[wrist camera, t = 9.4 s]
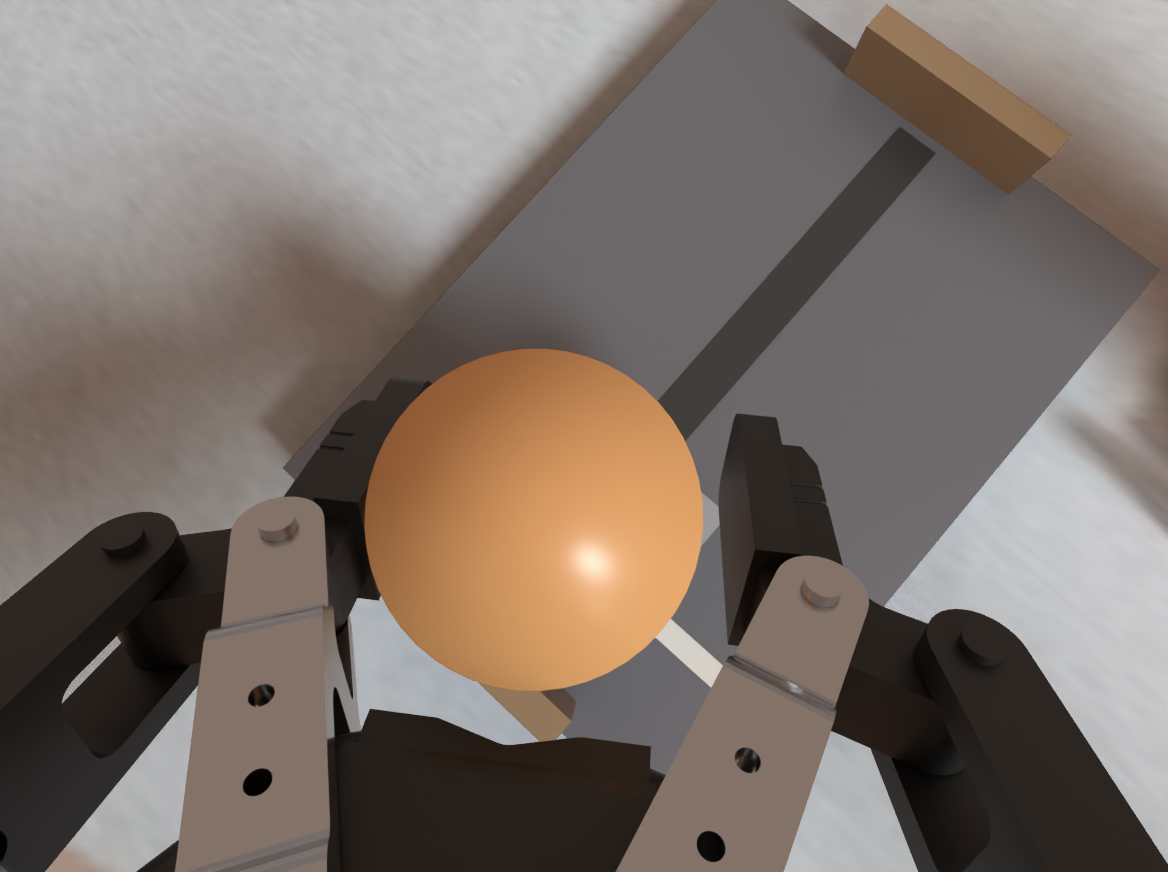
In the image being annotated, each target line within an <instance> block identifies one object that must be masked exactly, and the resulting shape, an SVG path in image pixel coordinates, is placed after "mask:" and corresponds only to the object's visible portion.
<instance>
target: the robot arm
mask: <svg viewBox="0 0 1168 872" xmlns="http://www.w3.org/2000/svg"><path fill="white" fill-rule="evenodd" d="M431 385H432V383H431V382H430V381H424V380H414V379H404V378H395V377H392V378H390V379H389V380H388V382H387V383H386V385H385V386H384V388H383V389H382V391H381V392H380V394H379V396H378V397H377V399H376V400H375V401H371V400H361V401H360V402H358V403H357V404H355V405H354V406H352V407H351V408H349V409H348V410H346V411H345V412H343V413H342V414H341V415H340V417H339V418H338V420H337V421H336V422H335V424H334V425H333V427H332V428H331V430H330V433H329V435H328V434H327V435H326V437H325V438H324V440H323V441H322V443H321V444H320V448H319V449H317V450H316V451H315V453H314V454H313V456H312V457H311V458H310V460H309V461H308V463H307V464H306V466H305V467H304V468H303V470H302V471H301V473H300V474H299V476H298V477H297V479H296V480H295V481H294V483H293V484H292V486H291V487H290V489H289V490H288V492H287V493H286V494H285V496H284V497H279V498H275V499H271V500H267V501H264V502H262V503H260V504H257V505H255V506H254V507H252V508H250V509H249V510H247V511H246V512H245V513H243V514H242V515H241V516H240V517H239V518H238V520H237V521H236V522H235V524H234V526H233V528H232V529H226V530H219V531H211V532H203V533H195V534H187V535H179V532H178V530H177V528H176V526H175V524H174V522H173V521H172V520H171V519H170V518H169V517H167V516H165V515H162V514H159V513H154V512H139V513H132V514H127V515H123V516H120V517H117V518H114V519H112V520H109V521H107V522H105V523H103V524H101V525H100V526H98V527H96V528H95V529H93V530H92V531H90V532H89V533H88V534H87V535H85V536H84V537H83V538H82V539H80V540H79V541H78V542H77V543H76V544H74V545H73V546H72V547H71V548H70V549H68V550H67V551H66V552H65V553H64V554H62V555H61V556H60V557H59V558H57V559H56V560H55V561H54V562H53V563H51V564H50V565H49V566H48V567H47V568H45V569H44V570H43V571H42V572H41V573H39V574H38V575H37V576H36V577H34V578H33V579H32V580H31V581H30V582H28V583H27V584H26V585H25V586H24V587H22V588H21V589H20V590H19V591H17V592H16V593H15V594H14V595H13V596H11V597H10V598H9V599H8V600H7V601H5V602H4V603H3V604H2V605H1V606H0V872H45V871H46V870H47V869H48V867H49V866H50V865H51V864H52V863H53V861H54V860H55V859H56V858H57V856H58V855H59V854H60V853H61V852H62V850H63V849H64V848H65V847H66V845H67V844H68V843H69V842H70V841H71V839H72V838H73V837H74V836H75V834H76V833H77V832H78V831H79V830H80V828H81V827H82V826H83V825H84V824H85V822H86V821H87V820H88V819H89V817H90V816H91V815H92V814H93V813H94V811H95V810H96V809H97V808H98V806H99V805H100V804H101V803H102V802H103V800H104V799H105V798H106V797H107V795H108V794H109V793H110V792H111V791H112V789H113V788H114V787H115V786H116V784H117V783H118V782H119V781H120V780H121V778H122V777H123V776H124V775H125V773H126V772H127V771H128V770H129V769H130V767H131V766H132V765H133V764H134V763H135V761H136V760H137V759H138V758H139V756H140V755H141V754H142V753H143V752H144V750H145V749H146V748H147V747H148V745H149V744H150V743H151V742H152V741H153V739H154V738H155V737H156V736H157V734H158V733H159V732H160V731H161V730H162V728H163V727H164V726H165V725H166V723H167V722H168V721H169V720H170V719H171V717H172V716H173V715H174V714H175V712H176V711H177V710H178V709H179V708H180V706H181V705H182V704H183V703H184V702H185V700H186V699H187V698H188V697H189V695H190V694H191V693H192V692H193V691H194V689H195V688H196V687H197V686H198V691H197V699H196V707H195V715H194V723H193V731H192V739H191V747H190V756H189V764H188V772H187V780H186V788H185V796H184V804H183V812H182V820H181V828H180V836H179V840H178V841H176V842H175V843H174V844H172V845H171V846H170V847H168V848H167V849H166V850H164V851H163V852H162V853H160V854H159V855H158V856H156V857H155V858H154V859H152V860H151V861H150V862H149V863H147V864H146V865H145V866H143V867H142V868H141V869H139V870H138V871H137V872H784V869H785V866H786V863H787V860H788V857H789V854H790V851H791V848H792V845H793V842H794V839H795V836H796V833H797V830H798V827H799V824H800V821H801V818H802V815H803V812H804V809H805V806H806V803H807V800H808V797H809V794H810V791H811V788H812V785H813V782H814V779H815V776H816V773H817V770H818V767H819V765H820V762H821V759H822V756H823V753H824V750H825V747H826V744H827V741H828V738H829V735H830V732H831V731H833V732H835V733H837V734H840V735H842V736H844V737H847V738H849V739H851V740H853V741H856V742H858V743H860V744H862V745H865V746H867V747H869V748H871V751H872V753H873V756H874V759H875V761H876V764H877V766H878V769H879V772H880V774H881V777H882V779H883V782H884V784H885V787H886V790H887V792H888V795H889V797H890V800H891V803H892V805H893V808H894V810H895V813H896V815H897V818H898V821H899V823H900V826H901V828H902V831H903V834H904V836H905V839H906V841H907V844H908V846H909V849H910V852H911V854H912V857H913V859H914V862H915V865H916V867H917V870H918V872H1168V864H1167V862H1166V861H1165V859H1164V858H1163V856H1162V855H1161V853H1160V852H1159V850H1158V849H1157V847H1156V846H1155V844H1154V843H1153V841H1152V839H1151V838H1150V836H1149V835H1148V833H1147V832H1146V830H1145V829H1144V827H1143V826H1142V824H1141V823H1140V821H1139V820H1138V818H1137V817H1136V815H1135V813H1134V812H1133V810H1132V809H1131V807H1130V806H1129V804H1128V803H1127V801H1126V800H1125V798H1124V797H1123V795H1122V794H1121V792H1120V791H1119V789H1118V787H1117V786H1116V784H1115V783H1114V781H1113V780H1112V778H1111V777H1110V775H1109V774H1108V772H1107V771H1106V769H1105V768H1104V766H1103V765H1102V763H1101V761H1100V760H1099V758H1098V757H1097V755H1096V754H1095V752H1094V751H1093V749H1092V748H1091V746H1090V745H1089V743H1088V742H1087V740H1086V739H1085V737H1084V736H1083V734H1082V732H1081V731H1080V729H1079V728H1078V726H1077V725H1076V723H1075V722H1074V720H1073V719H1072V717H1071V716H1070V714H1069V713H1068V711H1067V710H1066V708H1065V706H1064V705H1063V703H1062V702H1061V700H1060V699H1059V697H1058V696H1057V694H1056V693H1055V691H1054V690H1053V688H1052V687H1051V685H1050V684H1049V682H1048V680H1047V679H1046V677H1045V676H1044V674H1043V673H1042V671H1041V670H1040V668H1039V667H1038V665H1037V664H1036V662H1035V661H1034V659H1033V658H1032V656H1031V654H1030V653H1029V651H1028V650H1027V648H1026V647H1025V646H1024V644H1023V643H1022V642H1021V641H1020V640H1019V639H1018V638H1017V636H1016V635H1015V634H1013V633H1012V632H1011V631H1010V630H1009V629H1007V628H1006V627H1005V626H1003V625H1002V624H1000V623H999V622H997V621H995V620H993V619H991V618H989V617H987V616H985V615H983V614H980V613H977V612H973V611H969V610H962V609H950V610H945V611H942V612H940V613H938V614H936V615H935V616H934V617H932V619H931V620H930V622H929V623H928V624H927V623H924V622H922V621H919V620H916V619H914V618H911V617H908V616H905V615H903V614H900V613H897V612H895V611H892V610H890V609H887V608H885V607H883V606H881V605H879V604H877V603H875V602H874V601H872V600H871V599H869V598H868V594H867V591H866V589H865V587H864V585H863V584H862V583H861V581H860V580H859V579H858V578H857V577H856V576H855V575H854V574H853V573H852V572H851V571H849V570H848V569H847V568H845V567H844V566H843V563H842V559H841V556H840V552H839V548H838V544H837V540H836V536H835V532H834V528H833V524H832V520H831V516H830V513H829V509H828V506H826V502H827V501H826V497H825V493H824V489H822V481H821V477H820V473H819V470H818V466H817V464H816V463H815V462H814V461H813V459H812V458H811V457H810V456H809V455H808V453H807V452H806V451H805V450H804V449H803V448H802V446H793V445H783V444H782V441H781V436H780V431H779V426H778V421H777V419H776V417H768V416H758V415H748V414H738V413H737V414H736V415H735V417H734V420H733V424H732V429H731V433H730V438H729V442H728V447H727V451H726V456H725V460H724V465H723V469H722V474H721V479H720V486H719V499H718V507H719V523H720V538H721V553H722V568H723V583H724V597H725V612H726V627H727V642H728V645H734V646H738V648H737V650H736V652H735V654H734V655H733V657H732V656H729V657H728V658H727V660H726V661H725V663H724V664H723V666H722V668H721V670H720V672H719V674H718V676H717V678H716V680H715V682H714V683H713V685H712V687H711V689H710V691H709V693H708V695H707V697H706V699H705V701H704V703H703V705H702V707H701V709H700V710H699V712H698V714H697V716H696V718H695V720H694V722H693V724H692V726H691V728H690V730H689V732H688V734H687V736H686V738H685V739H684V741H683V743H682V745H681V747H680V749H679V751H678V753H677V755H676V757H675V759H674V761H673V763H672V765H671V766H670V768H669V770H668V772H667V774H666V775H664V774H662V773H660V772H658V771H655V770H653V769H651V768H650V759H651V746H645V745H637V744H630V743H622V742H615V741H607V740H600V739H592V738H585V737H576V738H567V739H559V740H551V741H542V742H534V743H525V744H517V745H502V744H499V743H496V742H494V741H492V740H489V739H487V738H484V737H482V736H480V735H477V734H475V733H473V732H470V731H468V730H465V729H463V728H461V727H458V726H456V725H453V724H451V723H449V722H446V721H444V720H442V719H439V718H435V717H427V716H420V715H412V714H405V713H397V712H390V711H382V710H375V709H370V710H369V713H368V715H367V718H366V720H365V723H364V725H363V728H362V730H361V727H360V721H359V713H358V702H357V689H356V676H355V664H354V651H353V638H352V625H351V620H350V616H349V614H350V612H351V610H352V608H353V606H354V604H355V602H356V599H357V598H363V599H371V600H379V598H380V596H381V594H380V592H379V590H378V587H377V584H376V582H375V579H374V576H373V573H372V570H371V567H370V562H369V557H368V552H367V548H366V537H365V525H364V524H365V504H366V497H367V491H368V486H369V480H370V477H371V474H372V471H373V468H374V464H375V461H376V458H377V456H378V454H379V452H380V450H381V448H382V445H383V443H384V441H385V439H386V437H387V436H388V434H389V433H390V431H391V429H392V428H393V426H394V424H395V423H396V421H397V420H398V419H399V417H400V416H401V415H402V414H403V413H404V411H405V410H406V409H407V408H408V406H409V405H410V404H411V403H412V402H413V401H414V400H415V399H416V398H417V397H418V396H419V395H420V394H421V393H422V392H423V391H424V390H425V389H427V388H428V387H429V386H431ZM116 636H118V638H119V640H120V642H121V644H120V645H119V646H118V647H117V648H116V649H115V650H114V651H113V652H112V653H111V654H110V655H109V656H108V657H107V658H106V659H105V660H104V661H103V662H102V663H101V664H100V665H99V666H98V667H97V668H96V669H95V670H94V671H93V672H92V673H91V675H90V676H89V677H88V678H87V679H86V680H85V681H84V682H83V683H82V684H81V685H80V686H79V687H78V688H77V689H76V690H75V691H74V692H73V693H72V694H71V695H70V696H69V697H68V698H67V699H66V700H65V701H64V702H63V703H62V699H63V696H64V694H65V691H66V690H67V688H68V686H69V685H70V683H71V682H72V681H73V680H74V679H75V677H76V676H77V675H78V674H79V673H80V672H81V671H82V670H83V669H84V668H85V667H86V666H87V665H88V664H89V663H90V662H91V661H92V660H93V659H94V658H95V657H96V656H97V655H98V654H99V653H100V652H101V651H102V650H103V649H104V648H105V647H106V646H107V645H108V644H109V643H110V642H111V641H112V640H113V639H114V638H115V637H116ZM61 703H62V704H61Z"/></svg>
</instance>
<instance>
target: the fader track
mask: <svg viewBox="0 0 1168 872" xmlns="http://www.w3.org/2000/svg"><path fill="white" fill-rule="evenodd" d="M1070 136H1071V134H1069V133H1068V132H1066V131H1065V130H1064V129H1062V128H1061V127H1059V126H1058V125H1056V124H1055V123H1054V122H1052V121H1051V120H1049V119H1048V118H1047V117H1045V116H1044V115H1042V114H1041V113H1039V112H1038V111H1037V110H1035V109H1034V108H1032V107H1031V106H1030V105H1028V104H1027V103H1025V102H1024V101H1023V100H1021V99H1020V98H1018V97H1017V96H1015V95H1014V94H1013V93H1011V92H1010V91H1008V90H1007V89H1006V88H1004V87H1003V86H1001V85H1000V84H998V83H997V82H996V81H994V80H993V79H991V78H990V77H989V76H987V75H986V74H984V73H983V72H982V71H980V70H979V69H977V68H976V67H974V66H973V65H972V64H970V63H969V62H967V61H966V60H965V59H963V58H962V57H960V56H959V55H958V54H956V53H955V52H953V51H952V50H950V49H949V48H948V47H946V46H945V45H943V44H942V43H941V42H939V41H938V40H936V39H935V38H933V37H932V36H931V35H929V34H928V33H926V32H925V31H924V30H922V29H921V28H919V27H918V26H917V25H915V24H914V23H912V22H911V21H909V20H908V19H907V18H905V17H904V16H902V15H901V14H900V13H898V12H897V11H895V10H894V9H893V8H891V7H890V6H888V5H887V4H886V6H885V7H884V8H883V9H882V10H881V11H880V12H879V13H878V14H877V16H876V17H875V18H874V19H873V20H872V21H871V22H870V23H869V24H868V26H867V27H866V29H865V31H864V33H863V35H862V37H861V39H860V41H859V43H858V45H857V47H856V49H854V48H853V47H851V46H850V45H849V44H847V43H846V42H844V41H843V40H842V39H840V38H839V37H838V36H836V35H835V34H833V33H832V32H831V31H829V30H828V29H827V28H825V27H824V26H822V25H821V24H820V23H818V22H817V21H815V20H814V19H813V18H811V17H810V16H809V15H807V14H806V13H804V12H803V11H802V10H800V9H799V8H797V7H796V6H795V5H793V4H792V3H791V2H789V1H788V0H716V1H715V2H714V3H713V4H712V5H711V6H710V8H709V9H708V10H707V11H706V12H705V13H704V14H703V15H702V16H701V17H700V18H699V19H698V20H697V22H696V23H695V24H694V25H693V26H692V27H691V28H690V29H689V30H688V31H687V32H686V33H685V34H684V36H683V37H682V38H681V39H680V40H679V41H678V42H677V43H676V44H675V45H674V46H673V47H672V48H671V50H670V51H669V52H668V53H667V54H666V55H665V56H664V57H663V58H662V59H661V60H660V61H659V63H658V64H657V65H656V66H655V67H654V68H653V69H652V70H651V71H650V72H649V73H648V74H647V75H646V77H645V78H644V79H643V80H642V81H641V82H640V83H639V84H638V85H637V86H636V87H635V88H634V89H633V91H632V92H631V93H630V94H629V95H628V96H627V97H626V98H625V99H624V100H623V101H622V102H621V103H620V105H619V106H618V107H617V108H616V109H615V110H614V111H613V112H612V113H611V114H610V115H609V116H608V117H607V119H606V120H605V121H604V122H603V123H602V124H601V125H600V126H599V127H598V128H597V129H596V130H595V131H594V133H593V134H592V135H591V136H590V137H589V138H588V139H587V140H586V141H585V142H584V143H583V144H582V146H581V147H580V148H579V149H578V150H577V151H576V152H575V153H574V154H573V155H572V156H571V157H570V158H569V160H568V161H567V162H566V163H565V164H564V165H563V166H562V167H561V168H560V169H559V170H558V171H557V172H556V174H555V175H554V176H553V177H552V178H551V179H550V180H549V181H548V182H547V183H546V184H545V185H544V186H543V188H542V189H541V190H540V191H539V192H538V193H537V194H536V195H535V196H534V197H533V198H532V199H531V200H530V202H529V203H528V204H527V205H526V206H525V207H524V208H523V209H522V210H521V211H520V212H519V213H518V214H517V216H516V217H515V218H514V219H513V220H512V221H511V222H510V223H509V224H508V225H507V226H506V227H505V229H504V230H503V231H502V232H501V233H500V234H499V235H498V236H497V237H496V238H495V239H494V240H493V241H492V243H491V244H490V245H489V246H488V247H487V248H486V249H485V250H484V251H483V252H482V253H481V254H480V255H479V257H478V258H477V259H476V260H475V261H474V262H473V263H472V264H471V265H470V266H469V267H468V268H467V269H466V271H465V272H464V273H463V274H462V275H461V276H460V277H459V278H458V279H457V280H456V281H455V282H454V283H453V285H452V286H451V287H450V288H449V289H448V290H447V291H446V292H445V293H444V294H443V295H442V296H441V297H440V299H439V300H438V301H437V302H436V303H435V304H434V305H433V306H432V307H431V308H430V309H429V310H428V312H427V313H426V314H425V315H424V316H423V317H422V318H421V319H420V320H419V321H418V322H417V323H416V324H415V326H414V327H413V328H412V329H411V330H410V331H409V332H408V333H407V334H406V335H405V336H404V337H403V338H402V340H401V341H400V342H399V343H398V344H397V345H396V346H395V347H394V348H393V349H392V350H391V351H390V352H389V354H388V355H387V356H386V357H385V358H384V359H383V360H382V361H381V362H380V363H379V364H378V365H377V366H376V368H375V369H374V370H373V371H372V372H371V373H370V374H369V375H368V376H367V377H366V378H365V379H364V380H363V382H362V383H361V384H360V385H359V386H358V387H357V388H356V389H355V390H354V391H353V392H352V393H351V395H350V396H349V397H348V398H347V399H346V400H345V401H344V402H343V403H342V404H341V405H340V406H339V407H338V409H337V410H336V411H335V412H334V413H333V414H332V415H331V416H330V417H329V418H328V419H327V420H326V421H325V423H324V424H323V425H322V426H321V427H320V428H319V429H318V430H317V431H316V432H315V433H314V434H313V435H312V437H311V438H310V439H309V440H308V441H307V442H306V443H305V444H304V445H303V446H302V447H301V448H300V449H299V451H298V452H297V453H296V454H295V455H294V456H293V457H292V458H291V459H290V460H289V461H288V462H287V463H286V465H285V466H284V467H283V469H284V470H285V471H286V472H288V473H289V474H290V475H291V476H292V477H293V478H294V479H295V480H296V479H297V477H298V476H299V474H300V473H301V471H302V470H303V468H304V467H305V466H306V464H307V463H308V461H309V460H310V458H311V457H312V456H313V454H314V453H315V451H316V450H317V449H319V448H320V444H321V443H322V441H323V440H324V438H325V437H326V435H327V434H328V435H329V433H330V430H331V428H332V427H333V425H334V424H335V422H336V421H337V420H338V418H339V417H340V415H341V414H342V413H343V412H345V411H346V410H348V409H349V408H351V407H352V406H354V405H355V404H357V403H358V402H360V401H361V400H371V401H375V400H376V399H377V397H378V396H379V394H380V392H381V391H382V389H383V388H384V386H385V385H386V383H387V382H388V380H389V379H390V378H392V377H395V378H404V379H414V380H424V381H430V382H431V383H432V384H433V383H435V382H436V381H437V380H439V379H440V378H441V377H443V376H444V375H446V374H448V373H450V372H451V371H453V370H455V369H457V368H459V367H460V366H462V365H465V364H467V363H469V362H472V361H474V360H477V359H479V358H482V357H485V356H489V355H493V354H496V353H500V352H505V351H512V350H520V349H551V350H560V351H567V352H571V353H575V354H579V355H583V356H587V357H589V358H592V359H595V360H597V361H600V362H602V363H605V364H607V365H609V366H611V367H613V368H614V369H616V370H618V371H620V372H622V373H623V374H625V375H627V376H628V377H629V378H631V379H632V380H633V381H635V382H636V383H638V384H639V385H640V386H642V387H643V388H644V389H645V390H646V391H647V392H648V393H649V394H650V395H651V396H652V397H653V398H654V399H655V400H657V401H658V402H659V403H660V405H661V406H662V407H663V408H664V410H665V411H666V412H667V414H668V415H669V416H670V417H671V419H672V420H673V421H674V423H675V425H676V426H677V428H678V430H679V431H680V433H681V435H682V436H683V438H684V440H685V442H686V444H687V447H688V449H689V451H690V454H691V456H692V458H693V461H694V464H695V468H696V471H697V475H698V478H699V483H700V489H701V492H702V493H703V494H704V495H705V496H707V497H708V498H709V499H710V500H711V501H712V502H714V503H715V504H716V505H717V506H718V499H719V486H720V479H721V474H722V469H723V465H724V460H725V456H726V451H727V447H728V442H729V438H730V433H731V429H732V424H733V420H734V417H735V415H736V414H737V413H738V414H748V415H758V416H768V417H776V419H777V421H778V426H779V431H780V436H781V441H782V444H783V445H793V446H802V448H803V449H804V450H805V451H806V452H807V453H808V455H809V456H810V457H811V458H812V459H813V461H814V462H815V463H816V464H817V466H818V470H819V473H820V477H821V481H822V489H824V493H825V497H826V501H827V502H826V506H828V509H829V513H830V516H831V520H832V524H833V528H834V532H835V536H836V540H837V544H838V548H839V552H840V556H841V559H842V563H843V566H844V567H845V568H847V569H848V570H849V571H851V572H852V573H853V574H854V575H855V576H856V577H857V578H858V579H859V580H860V581H861V583H862V584H863V585H864V587H865V589H866V591H867V594H868V598H869V599H871V600H872V601H874V602H875V603H877V604H879V605H881V606H883V607H884V606H885V604H886V603H887V602H888V601H889V599H890V598H891V597H892V596H893V595H894V593H895V592H896V591H897V590H898V588H899V587H900V586H901V585H902V584H903V582H904V581H905V580H906V579H907V578H908V576H909V575H910V574H911V573H912V571H913V570H914V569H915V568H916V567H917V565H918V564H919V563H920V562H921V560H922V559H923V558H924V557H925V556H926V554H927V553H928V552H929V551H930V550H931V548H932V547H933V546H934V545H935V543H936V542H937V541H938V540H939V539H940V537H941V536H942V535H943V534H944V532H945V531H946V530H947V529H948V528H949V526H950V525H951V524H952V523H953V521H954V520H955V519H956V518H957V517H958V515H959V514H960V513H961V512H962V511H963V509H964V508H965V507H966V506H967V504H968V503H969V502H970V501H971V500H972V498H973V497H974V496H975V495H976V493H977V492H978V491H979V490H980V489H981V487H982V486H983V485H984V484H985V483H986V481H987V480H988V479H989V478H990V476H991V475H992V474H993V473H994V472H995V470H996V469H997V468H998V467H999V465H1000V464H1001V463H1002V462H1003V461H1004V459H1005V458H1006V457H1007V456H1008V455H1009V453H1010V452H1011V451H1012V450H1013V448H1014V447H1015V446H1016V445H1017V444H1018V442H1019V441H1020V440H1021V439H1022V437H1023V436H1024V435H1025V434H1026V433H1027V431H1028V430H1029V429H1030V428H1031V427H1032V425H1033V424H1034V423H1035V422H1036V420H1037V419H1038V418H1039V417H1040V416H1041V414H1042V413H1043V412H1044V411H1045V409H1046V408H1047V407H1048V406H1049V405H1050V403H1051V402H1052V401H1053V400H1054V399H1055V397H1056V396H1057V395H1058V394H1059V392H1060V391H1061V390H1062V389H1063V388H1064V386H1065V385H1066V384H1067V383H1068V381H1069V380H1070V379H1071V378H1072V377H1073V375H1074V374H1075V373H1076V372H1077V371H1078V369H1079V368H1080V367H1081V366H1082V364H1083V363H1084V362H1085V361H1086V360H1087V358H1088V357H1089V356H1090V355H1091V353H1092V352H1093V351H1094V350H1095V349H1096V347H1097V346H1098V345H1099V344H1100V342H1101V341H1102V340H1103V339H1104V338H1105V336H1106V335H1107V334H1108V333H1109V332H1110V330H1111V329H1112V328H1113V327H1114V325H1115V324H1116V323H1117V322H1118V321H1119V319H1120V318H1121V317H1122V316H1123V314H1124V313H1125V312H1126V311H1127V310H1128V308H1129V307H1130V306H1131V305H1132V304H1133V302H1134V301H1135V300H1136V299H1137V297H1138V296H1139V295H1140V294H1141V293H1142V291H1143V290H1144V289H1145V288H1146V286H1147V285H1148V284H1149V283H1150V282H1151V280H1152V279H1153V278H1154V277H1155V276H1156V274H1157V273H1158V272H1159V271H1160V269H1158V268H1157V267H1156V266H1154V265H1153V264H1151V263H1150V262H1149V261H1147V260H1146V259H1144V258H1143V257H1142V256H1140V255H1139V254H1138V253H1136V252H1135V251H1133V250H1132V249H1131V248H1129V247H1128V246H1126V245H1125V244H1124V243H1122V242H1121V241H1120V240H1118V239H1117V238H1115V237H1114V236H1113V235H1111V234H1110V233H1109V232H1107V231H1106V230H1104V229H1103V228H1102V227H1100V226H1099V225H1097V224H1096V223H1095V222H1093V221H1092V220H1091V219H1089V218H1088V217H1086V216H1085V215H1084V214H1082V213H1081V212H1079V211H1078V210H1077V209H1075V208H1074V207H1073V206H1071V205H1070V204H1068V203H1067V202H1066V201H1064V200H1063V199H1062V198H1060V197H1059V196H1057V195H1056V194H1055V193H1053V192H1052V191H1050V190H1049V189H1048V188H1046V187H1045V186H1044V185H1042V184H1041V183H1039V182H1038V181H1037V180H1035V179H1034V178H1032V177H1031V175H1033V174H1034V173H1035V172H1036V171H1037V170H1038V169H1040V168H1041V167H1042V166H1043V165H1044V164H1045V163H1047V162H1048V161H1049V160H1050V159H1051V158H1052V157H1053V156H1054V155H1055V154H1056V152H1057V151H1058V150H1059V149H1060V148H1061V146H1062V145H1063V144H1064V143H1065V142H1066V141H1067V139H1068V138H1069V137H1070ZM737 648H738V646H734V645H728V642H727V627H726V612H725V597H724V583H723V568H722V553H721V538H720V525H719V526H718V527H717V528H716V530H715V531H714V532H713V533H712V534H711V535H710V537H709V538H708V539H707V540H706V541H705V542H704V544H703V545H702V546H701V548H700V553H699V557H698V561H697V565H696V569H695V572H694V574H693V577H692V580H691V582H690V585H689V587H688V590H687V592H686V594H685V596H684V598H683V599H682V601H681V603H680V605H679V607H678V608H677V610H676V612H675V613H674V615H673V616H672V617H671V619H670V620H669V621H668V623H667V624H666V626H665V627H664V628H663V630H662V631H661V632H660V633H659V634H658V635H657V636H656V637H655V638H654V639H653V640H652V641H651V642H650V643H649V644H648V645H647V646H646V647H645V648H644V649H643V650H641V651H640V652H639V653H638V654H636V655H635V656H634V657H632V658H631V659H630V660H629V661H627V662H626V663H624V664H622V665H621V666H619V667H617V668H615V669H614V670H612V671H610V672H609V673H607V674H604V675H602V676H600V677H597V678H595V679H592V680H590V681H588V682H585V683H581V684H577V685H573V686H570V687H566V688H560V689H552V690H544V691H518V690H511V689H505V688H498V687H493V686H490V685H487V684H483V683H480V682H478V683H479V684H480V685H481V686H482V687H483V688H484V689H485V690H486V691H487V692H489V693H490V694H491V695H492V696H493V697H494V698H495V699H496V700H497V701H498V702H499V703H500V704H501V705H502V706H503V707H504V708H505V709H506V710H507V711H508V712H509V713H510V714H512V715H513V716H514V717H515V718H516V719H517V720H518V721H519V722H520V723H521V724H522V725H523V726H524V727H525V728H526V729H527V730H528V731H529V732H530V733H531V734H532V735H533V736H535V737H536V738H537V739H538V740H539V741H540V742H542V741H551V740H556V739H557V738H558V737H559V735H560V734H561V733H562V734H563V735H564V736H566V737H567V738H576V737H585V738H592V739H600V740H607V741H615V742H622V743H630V744H637V745H645V746H651V759H650V768H651V769H653V770H655V771H658V772H660V773H662V774H664V775H666V774H667V772H668V770H669V768H670V766H671V765H672V763H673V761H674V759H675V757H676V755H677V753H678V751H679V749H680V747H681V745H682V743H683V741H684V739H685V738H686V736H687V734H688V732H689V730H690V728H691V726H692V724H693V722H694V720H695V718H696V716H697V714H698V712H699V710H700V709H701V707H702V705H703V703H704V701H705V699H706V697H707V695H708V693H709V691H710V689H711V687H712V685H713V683H714V682H715V680H716V678H717V676H718V674H719V672H720V670H721V668H722V666H723V664H724V663H725V661H726V660H727V658H728V657H729V656H732V657H733V655H734V654H735V652H736V650H737Z"/></svg>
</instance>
